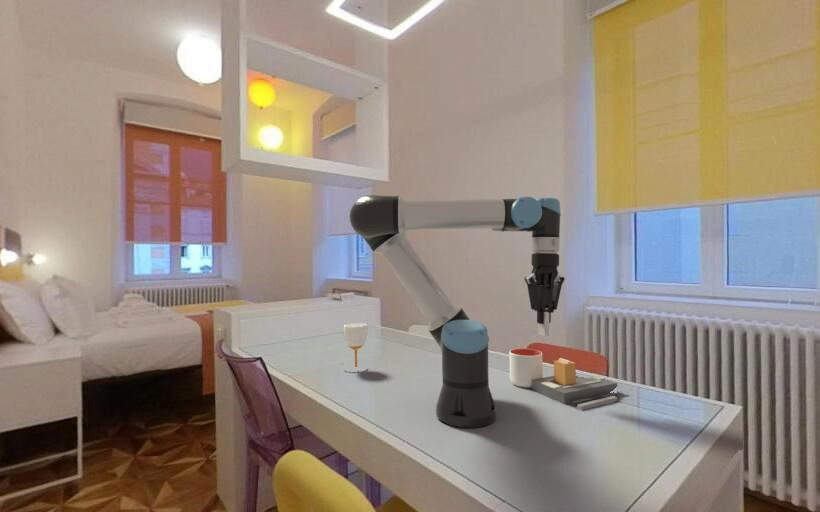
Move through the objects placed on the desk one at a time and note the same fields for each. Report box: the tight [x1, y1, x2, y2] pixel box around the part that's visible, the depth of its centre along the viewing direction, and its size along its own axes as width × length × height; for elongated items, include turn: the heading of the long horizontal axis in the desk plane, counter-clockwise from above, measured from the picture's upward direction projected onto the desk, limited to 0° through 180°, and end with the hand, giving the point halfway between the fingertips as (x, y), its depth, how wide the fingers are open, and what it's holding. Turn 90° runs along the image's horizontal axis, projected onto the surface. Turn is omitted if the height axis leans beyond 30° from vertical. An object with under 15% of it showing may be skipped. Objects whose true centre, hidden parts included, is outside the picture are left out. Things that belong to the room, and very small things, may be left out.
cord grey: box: [576, 396, 618, 411], centre depth 107 cm, size 14×1×1 cm, turn 116°
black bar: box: [570, 392, 619, 408], centre depth 109 cm, size 16×1×1 cm, turn 113°
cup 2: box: [343, 322, 369, 367], centre depth 144 cm, size 9×9×16 cm
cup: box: [508, 348, 544, 389], centre depth 125 cm, size 10×10×10 cm
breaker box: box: [531, 371, 618, 405], centre depth 117 cm, size 20×13×3 cm, turn 113°
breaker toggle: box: [553, 357, 577, 385], centre depth 116 cm, size 4×4×7 cm
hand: (543, 334), depth 114 cm, fingers closed
